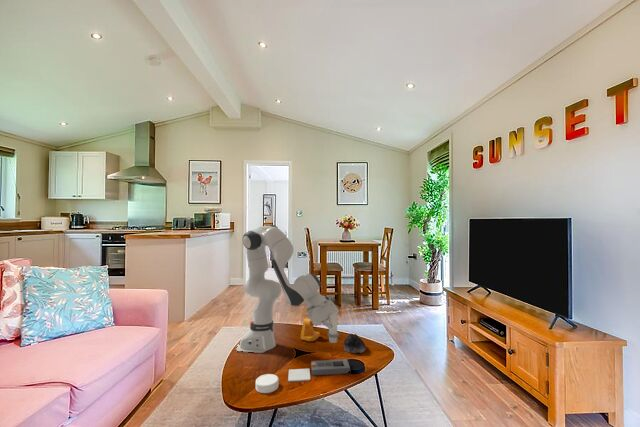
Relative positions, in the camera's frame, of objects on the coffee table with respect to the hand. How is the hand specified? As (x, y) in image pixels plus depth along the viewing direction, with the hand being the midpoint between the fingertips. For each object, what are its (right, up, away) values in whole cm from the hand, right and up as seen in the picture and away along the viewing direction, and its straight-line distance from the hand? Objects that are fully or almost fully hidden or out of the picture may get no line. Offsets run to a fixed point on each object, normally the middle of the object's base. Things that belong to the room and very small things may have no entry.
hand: (334, 326), depth 142 cm
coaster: (-30, -21, -16) cm, 40 cm away
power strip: (-2, -20, -2) cm, 20 cm away
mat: (-17, -20, -7) cm, 27 cm away
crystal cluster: (+13, -21, +21) cm, 33 cm away
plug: (0, -7, 0) cm, 7 cm away
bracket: (-13, -22, +38) cm, 46 cm away
